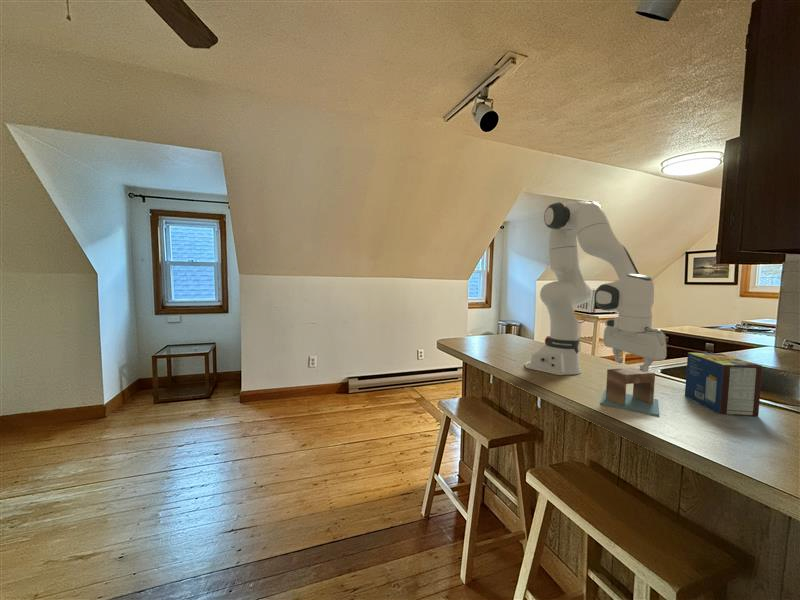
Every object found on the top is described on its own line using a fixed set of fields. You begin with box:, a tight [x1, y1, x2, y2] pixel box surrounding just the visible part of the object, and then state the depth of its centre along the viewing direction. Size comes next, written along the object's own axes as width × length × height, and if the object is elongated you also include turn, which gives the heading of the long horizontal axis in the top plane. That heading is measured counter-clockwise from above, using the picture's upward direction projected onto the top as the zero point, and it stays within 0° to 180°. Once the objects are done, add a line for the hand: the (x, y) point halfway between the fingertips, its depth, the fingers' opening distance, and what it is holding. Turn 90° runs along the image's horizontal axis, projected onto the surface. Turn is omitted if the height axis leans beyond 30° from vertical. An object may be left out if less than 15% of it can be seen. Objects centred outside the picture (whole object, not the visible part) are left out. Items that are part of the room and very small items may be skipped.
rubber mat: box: [599, 389, 660, 418], centre depth 107 cm, size 15×15×1 cm
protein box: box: [684, 352, 763, 417], centre depth 105 cm, size 10×15×16 cm
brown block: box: [605, 367, 656, 406], centre depth 107 cm, size 10×6×12 cm
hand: (630, 366), depth 107 cm, fingers open, 8 cm apart
